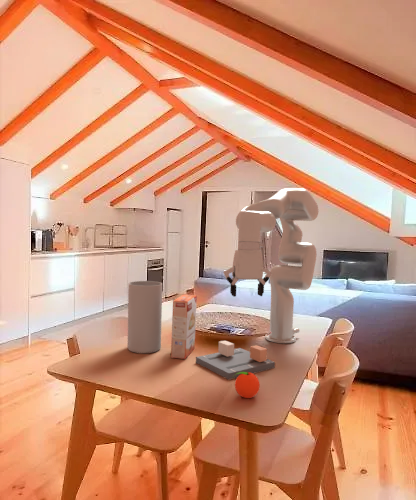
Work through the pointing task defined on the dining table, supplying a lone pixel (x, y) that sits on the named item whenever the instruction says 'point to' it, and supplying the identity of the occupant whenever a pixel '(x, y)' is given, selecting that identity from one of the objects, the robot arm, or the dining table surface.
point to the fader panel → (233, 363)
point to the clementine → (247, 384)
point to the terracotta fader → (258, 353)
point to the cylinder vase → (144, 316)
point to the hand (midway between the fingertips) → (246, 295)
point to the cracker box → (183, 326)
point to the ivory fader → (226, 348)
